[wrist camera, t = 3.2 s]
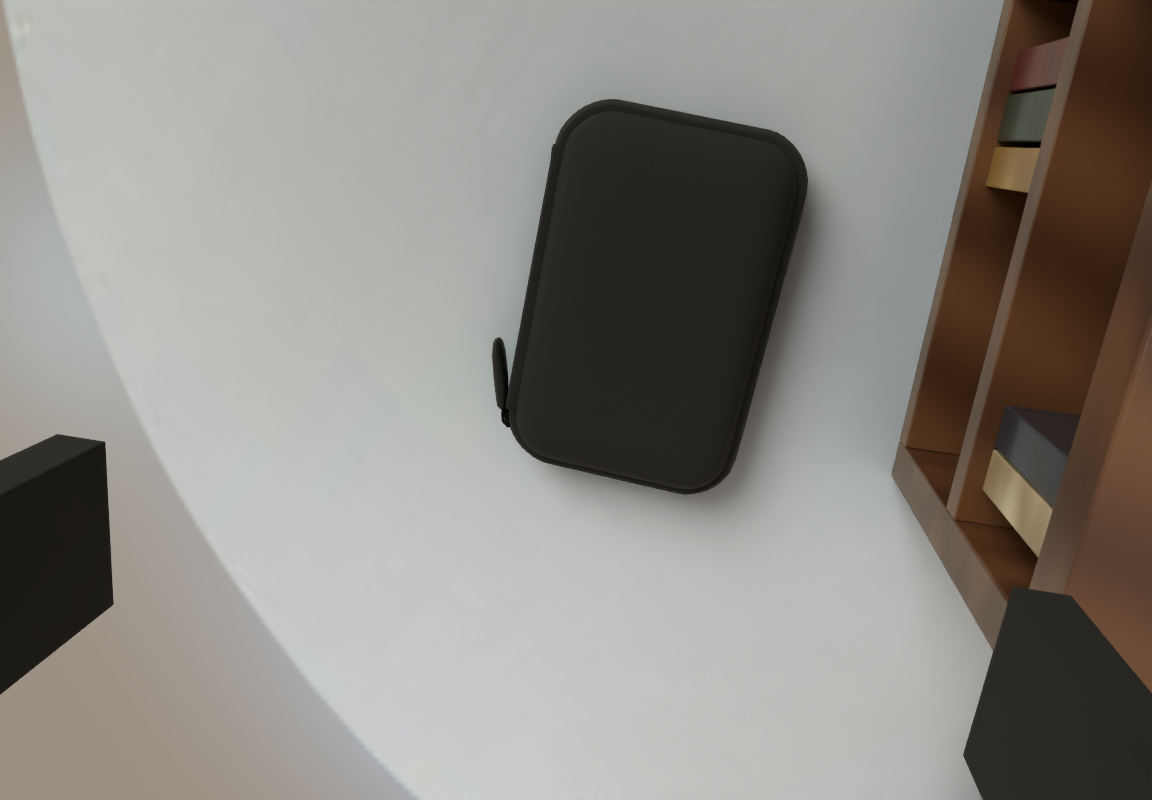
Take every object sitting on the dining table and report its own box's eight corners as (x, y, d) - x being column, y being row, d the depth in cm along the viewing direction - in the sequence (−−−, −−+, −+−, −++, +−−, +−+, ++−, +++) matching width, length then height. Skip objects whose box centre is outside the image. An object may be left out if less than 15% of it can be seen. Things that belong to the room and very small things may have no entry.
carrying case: (544, 85, 34) (484, 433, 39) (530, 80, 31) (467, 457, 36) (815, 140, 33) (722, 489, 38) (826, 140, 31) (724, 517, 35)
